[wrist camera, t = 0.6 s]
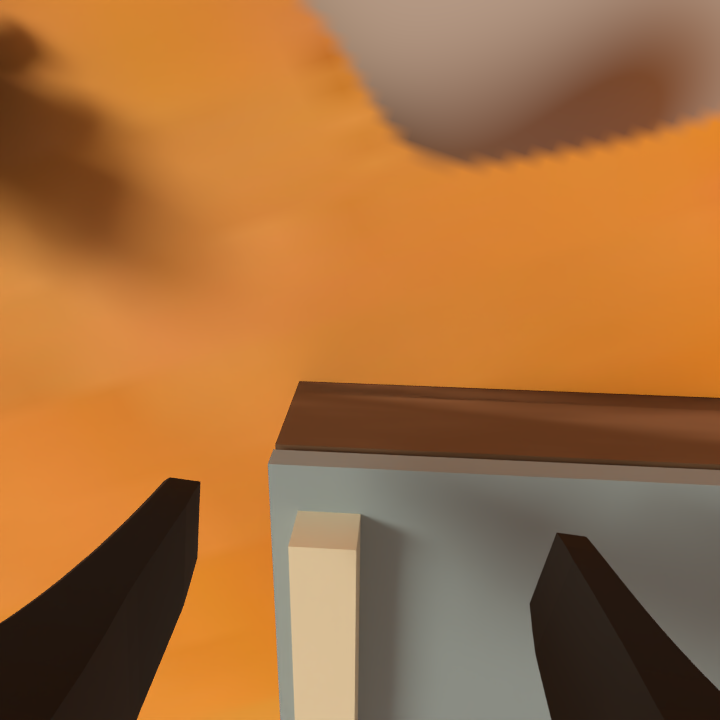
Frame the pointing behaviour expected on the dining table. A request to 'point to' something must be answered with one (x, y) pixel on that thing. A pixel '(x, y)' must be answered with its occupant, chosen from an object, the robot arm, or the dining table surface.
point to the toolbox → (504, 425)
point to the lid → (466, 575)
